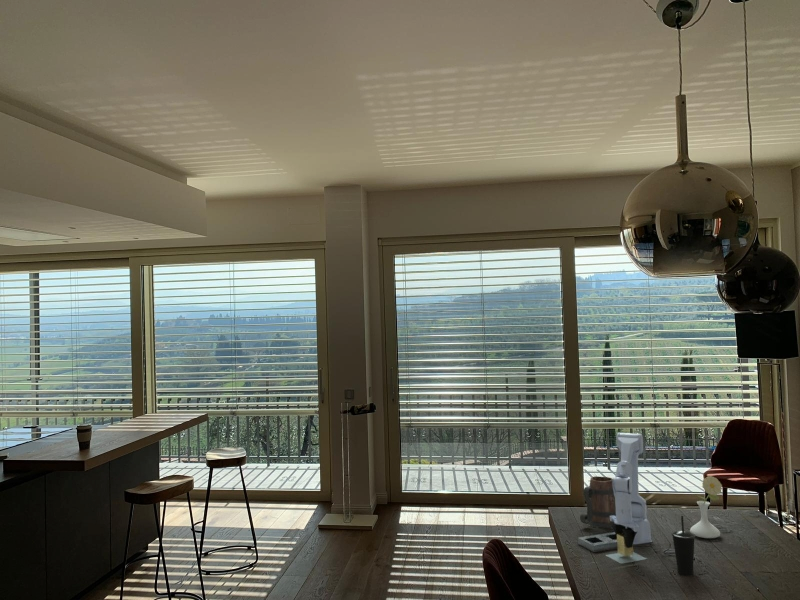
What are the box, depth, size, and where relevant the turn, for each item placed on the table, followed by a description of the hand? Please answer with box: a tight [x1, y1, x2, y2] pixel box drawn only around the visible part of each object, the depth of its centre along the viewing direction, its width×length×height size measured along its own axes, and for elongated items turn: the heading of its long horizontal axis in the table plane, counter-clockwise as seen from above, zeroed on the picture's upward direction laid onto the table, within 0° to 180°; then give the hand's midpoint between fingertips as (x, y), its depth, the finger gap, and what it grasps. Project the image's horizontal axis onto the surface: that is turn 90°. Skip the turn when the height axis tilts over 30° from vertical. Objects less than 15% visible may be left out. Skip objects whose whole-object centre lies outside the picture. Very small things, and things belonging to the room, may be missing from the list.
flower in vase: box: [689, 475, 723, 539], centre depth 244 cm, size 13×11×25 cm
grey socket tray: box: [577, 531, 618, 553], centre depth 235 cm, size 18×10×3 cm, turn 108°
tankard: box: [579, 475, 616, 530], centre depth 262 cm, size 24×17×20 cm
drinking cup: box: [671, 515, 696, 577], centre depth 207 cm, size 8×8×20 cm
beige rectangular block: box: [616, 533, 634, 556], centre depth 222 cm, size 4×4×7 cm
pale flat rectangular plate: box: [605, 551, 648, 565], centre depth 222 cm, size 12×9×1 cm
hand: (625, 545), depth 222 cm, fingers closed on beige rectangular block, 4 cm apart
